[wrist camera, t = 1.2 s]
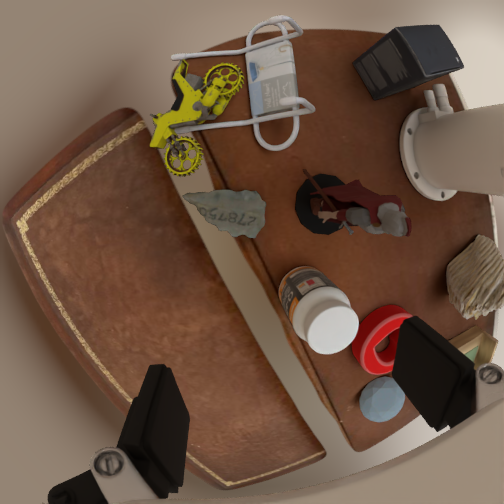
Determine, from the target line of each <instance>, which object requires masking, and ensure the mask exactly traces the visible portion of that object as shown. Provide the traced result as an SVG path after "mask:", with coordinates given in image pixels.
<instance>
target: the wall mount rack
mask: <svg viewBox="0 0 504 504" xmlns="http://www.w3.org/2000/svg"><path fill="white" fill-rule="evenodd" d="M285 21H287V22H288V23H289V24H290V25H291V26H292V27H293V28H294V29H295V30H296V31H297V32H294V33H291V34H288V33H287V30H286V28H285V26H284V25H283V24H282V23H281V22H285ZM266 25H276V26H278V27H279V28H280V29H281V31H282V35H283V36H280V37H276V38H273V39H270V40H267V41H263V42H260V43H257V44H254V45H251V39H252V36H253V35H254V33H255V32H256V31H257V30H258V29H259V28H261V27H263V26H266ZM302 34H303V30H302V29H301V28H300V27H299V25H297V23H296V22H295V21H294V20H293V19H292V18H291V17H288V16H282V15H279V16H274V17H270V18H269V19H268V20H266V21H263V22H261V23H259V24H257V25H256V26H254V27H253V28H252V29H251V31H250V32H249V34H248V36H247V39H246V48H243V49H240V50H230V51H212V52H200V53H190V54H186V53H183V54H182V53H181V54H174V55H172V56H171V59H172V60H173V61H177V60H182V59H184V60H185V59H186V58H195V57H206V56H220V55H238V54H242V53H245V52H246V54H245V57H246V66H247V76H248V85H249V95H250V103H251V112H252V117H253V119H248V120H242V121H231V122H221V123H212V124H203V125H195V126H185V127H180V128H175V129H174V131H175V132H176V134H182V133H189V132H190V131H196V130H204V129H213V128H222V127H232V126H244V125H250V124H253V125H254V134H255V137H256V139H257V141H258V142H259V144H260V145H261V146H262V147H264V148H266V149H268V150H271V151H280V150H283V149H285V148H287V147H289V146H290V145H291V144H292V143H293V142H294V140H295V139H296V137H297V135H298V131H299V115H303V114H310V113H313V112H314V111H315V107H314V106H313V105H312V104H311V103H309V102H308V101H307V100H306V99H304V98H301V97H299V96H298V87H297V79H296V72H295V64H294V56H293V49H292V43H291V42H289V39H291V38H295V37H299V36H301V35H302ZM299 104H302V105H303V106H305V107H306V108H304V109H298V108H300V106H299ZM289 110H293V111H289ZM284 111H287V112H284ZM279 112H282V113H279ZM274 113H277V114H274ZM269 114H272V115H269ZM264 115H267V116H264ZM258 116H262V117H258ZM291 116H293V121H294V125H293V131H292V134H291V136H290V137H289V139H288V140H287V141H286V142H284V143H283V144H280V145H270V144H268V143H266V142H265V141H264V140H263V139H262V137H261V135H260V131H259V122H264V121H269V120H274V119H280V118H285V117H291Z"/></svg>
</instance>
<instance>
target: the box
mask: <svg viewBox="0 0 504 504" xmlns="http://www.w3.org/2000/svg"><path fill="white" fill-rule="evenodd" d="M353 65H354V67H355V68H356V70H357V72H358V73H359V75H360V76H361V78H362V80H363V81H364V83H365V85H366V87H367V88H368V90H369V92H370V94H371V95H372V97H373V99H374V100H378V99H381V98H383V97H387V96H390V95H392V94H395V93H398V92H401V91H404V90H407V89H410V88H414V87H416V86H418V85H421V84H423V83H426V82H428V81H430V80H433V79H436V78H438V77H441V76H444V75H446V74H449V73H451V72H454V71H457V70H460V69H462V68H464V65H463V63H462V61H461V59H460V57H459V55H458V53H457V51H456V49H455V48H454V46H453V44H452V43H451V41H450V40H449V38H448V37H447V35H446V34H445V32H444V31H443V30H442V28H441V27H440V26H439V25H417V26H404V27H395V28H394V29H393V30H391V31H390V32H389V33H388V34H386V35H385V36H384V37H383V38H381V39H380V40H379V41H378V42H377V43H375V44H374V45H373V46H372V47H370V48H369V49H368V50H367V51H366V52H365V53H363V54H362V55H361V56H360V57H359V58H357V59H356V60H355V61H354V62H353Z"/></svg>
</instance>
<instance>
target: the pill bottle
mask: <svg viewBox="0 0 504 504" xmlns="http://www.w3.org/2000/svg"><path fill="white" fill-rule="evenodd" d="M279 298H280V301H281V304H282V306H283V308H284V310H285V312H286V314H287V316H288V318H289V320H290V322H291V324H292V326H293V329H294V331H295V332H296V334H297V335H298V336H299V337H300V338H302V339H303V340H305V341H307V342H308V344H309V346H310V347H311V348H312V349H313V350H314V351H316V352H318V353H321V354H333V353H336V352H339V351H341V350H343V349H344V348H346V347H347V346H348V345H349V344H350V343H351V342H352V341H353V339H354V338H355V336H356V334H357V331H358V327H359V321H358V317H357V315H356V313H355V312H354V311H353V309H352V308H351V307H350V303H349V300H348V298H347V296H346V295H345V294H344V292H342V291H341V290H340V289H339V288H338V287H337V286H336V285H335V284H334V283H333V282H331V281H330V280H329V279H328V278H327V277H326V276H325V275H324V274H323V273H322V272H320V271H319V270H317V269H316V268H313V267H309V266H302V267H297V268H295V269H293V270H291V271H290V272H289V273H288V274H286V275H285V277H284V278H283V279H282V281H281V284H280V286H279Z"/></svg>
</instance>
